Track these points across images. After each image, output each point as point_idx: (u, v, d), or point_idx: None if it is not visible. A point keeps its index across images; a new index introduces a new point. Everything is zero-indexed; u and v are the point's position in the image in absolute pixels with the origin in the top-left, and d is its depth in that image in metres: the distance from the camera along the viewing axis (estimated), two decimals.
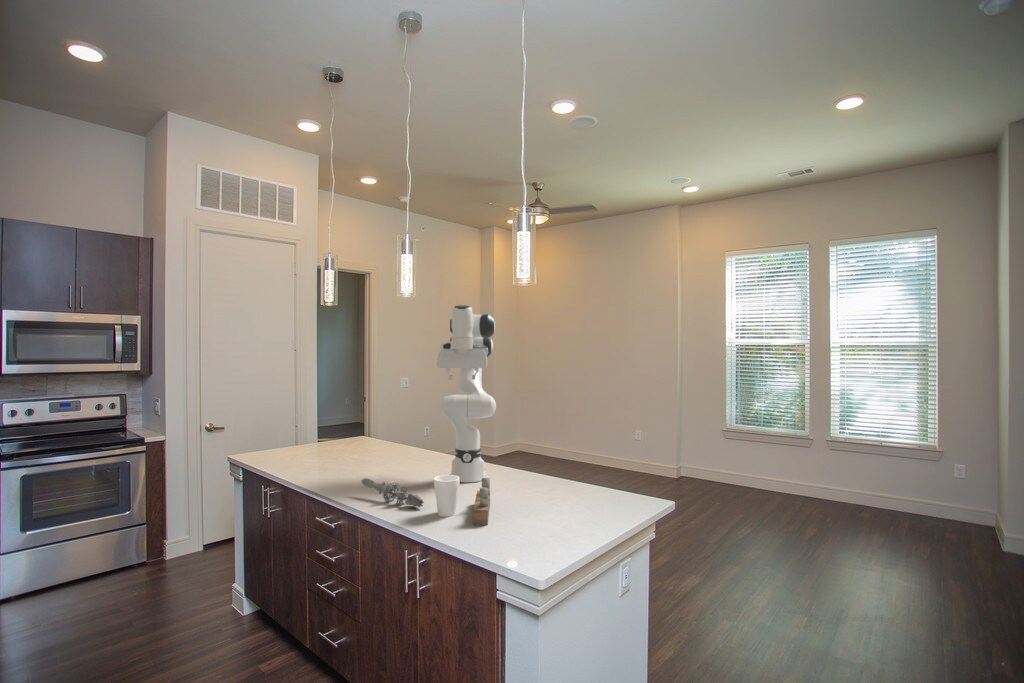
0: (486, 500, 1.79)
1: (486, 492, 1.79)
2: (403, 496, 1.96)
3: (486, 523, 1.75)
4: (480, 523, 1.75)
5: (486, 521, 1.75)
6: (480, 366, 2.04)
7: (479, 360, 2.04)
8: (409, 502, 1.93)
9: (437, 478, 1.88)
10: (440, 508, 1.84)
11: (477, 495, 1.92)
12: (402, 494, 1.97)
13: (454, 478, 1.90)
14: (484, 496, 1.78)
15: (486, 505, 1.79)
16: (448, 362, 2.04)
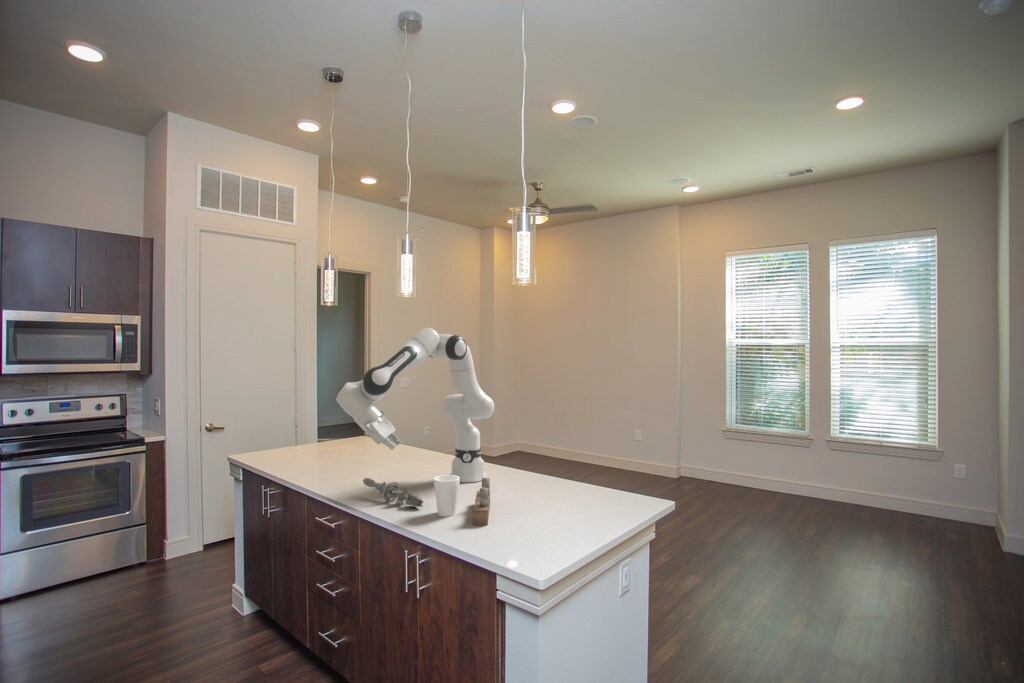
0: (486, 500, 1.79)
1: (486, 492, 1.79)
2: (403, 496, 1.96)
3: (486, 523, 1.75)
4: (480, 523, 1.75)
5: (486, 521, 1.75)
6: None
7: None
8: (409, 502, 1.93)
9: (437, 478, 1.88)
10: (440, 508, 1.84)
11: (477, 495, 1.92)
12: (402, 494, 1.97)
13: (454, 478, 1.90)
14: (484, 496, 1.78)
15: (486, 505, 1.79)
16: None
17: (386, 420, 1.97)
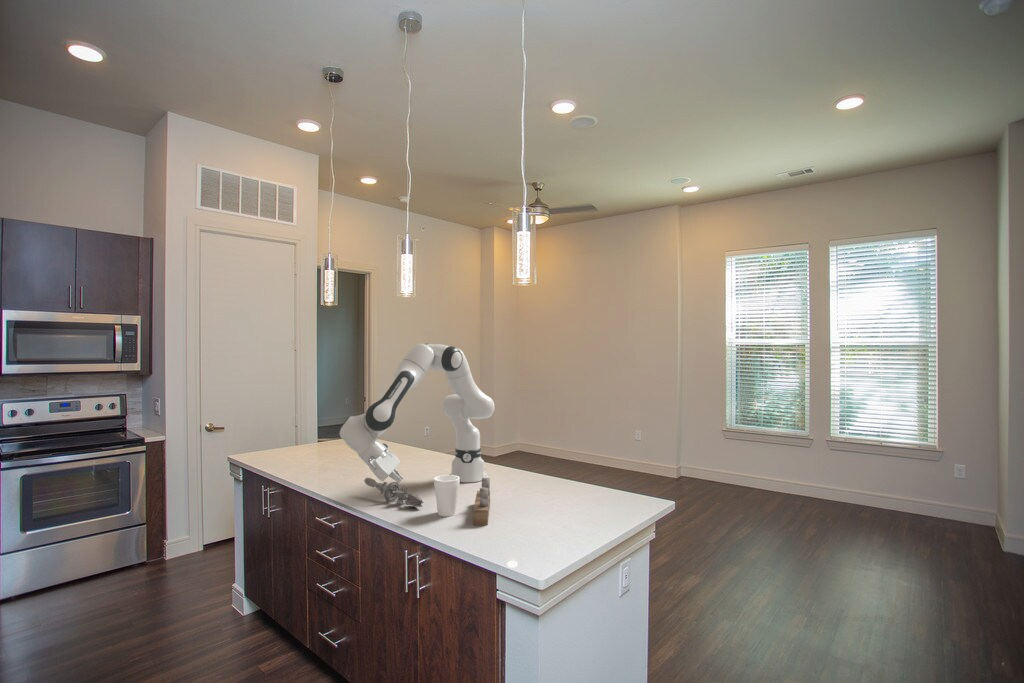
0: (486, 500, 1.79)
1: (486, 492, 1.79)
2: (403, 496, 1.96)
3: (486, 523, 1.75)
4: (480, 523, 1.75)
5: (486, 521, 1.75)
6: None
7: None
8: (409, 502, 1.93)
9: (437, 478, 1.88)
10: (440, 508, 1.84)
11: (477, 495, 1.92)
12: (402, 494, 1.97)
13: (454, 478, 1.90)
14: (484, 496, 1.78)
15: (486, 505, 1.79)
16: None
17: (390, 453, 1.94)
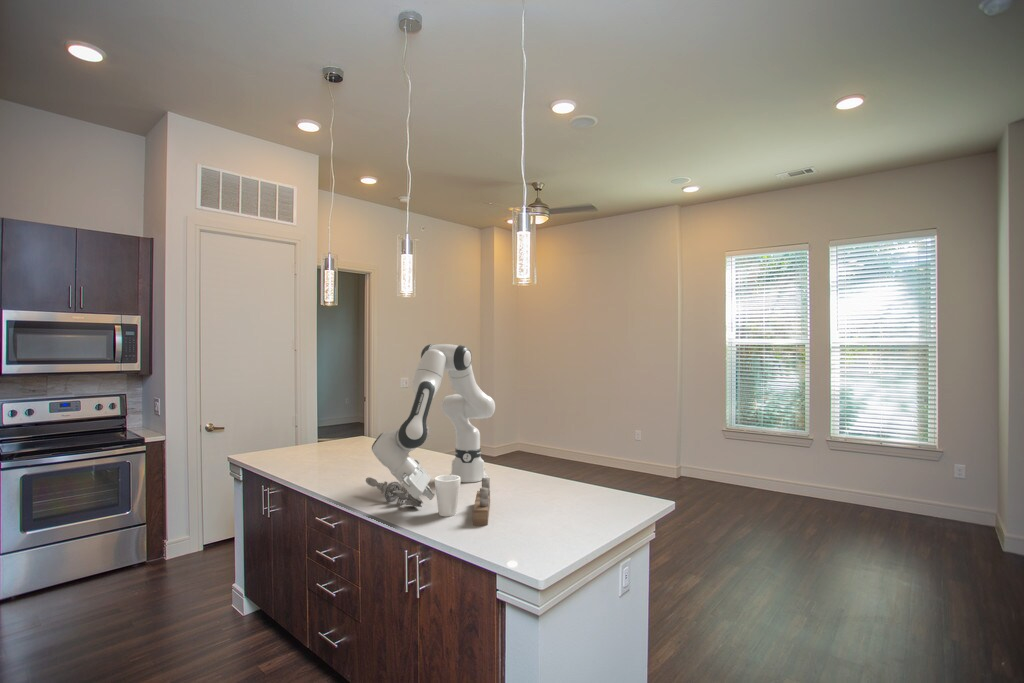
0: (486, 500, 1.79)
1: (486, 492, 1.79)
2: (403, 496, 1.96)
3: (486, 523, 1.75)
4: (480, 523, 1.75)
5: (486, 521, 1.75)
6: None
7: None
8: (408, 502, 1.93)
9: (438, 478, 1.88)
10: (441, 508, 1.84)
11: (477, 495, 1.92)
12: (402, 494, 1.97)
13: (455, 478, 1.90)
14: (484, 496, 1.78)
15: (486, 505, 1.79)
16: None
17: (421, 469, 1.94)
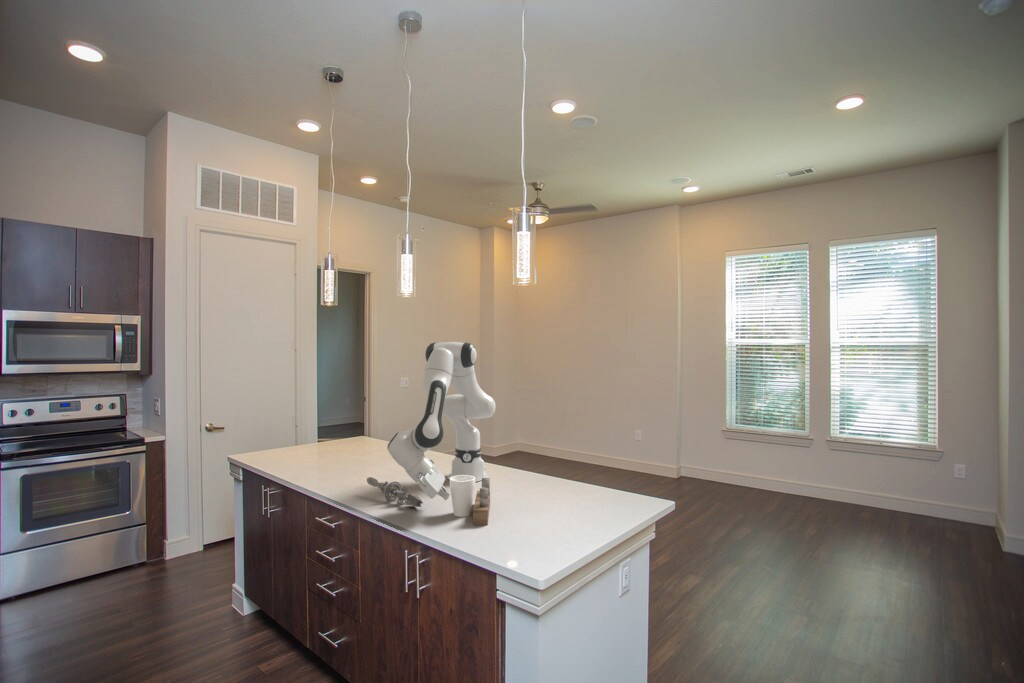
0: (486, 500, 1.79)
1: (486, 492, 1.79)
2: (403, 496, 1.96)
3: (486, 523, 1.75)
4: (480, 523, 1.75)
5: (486, 521, 1.75)
6: None
7: None
8: (408, 502, 1.93)
9: (453, 478, 1.88)
10: (456, 509, 1.83)
11: (477, 495, 1.92)
12: (402, 494, 1.97)
13: (470, 478, 1.89)
14: (484, 496, 1.78)
15: (486, 505, 1.79)
16: None
17: (436, 469, 1.94)
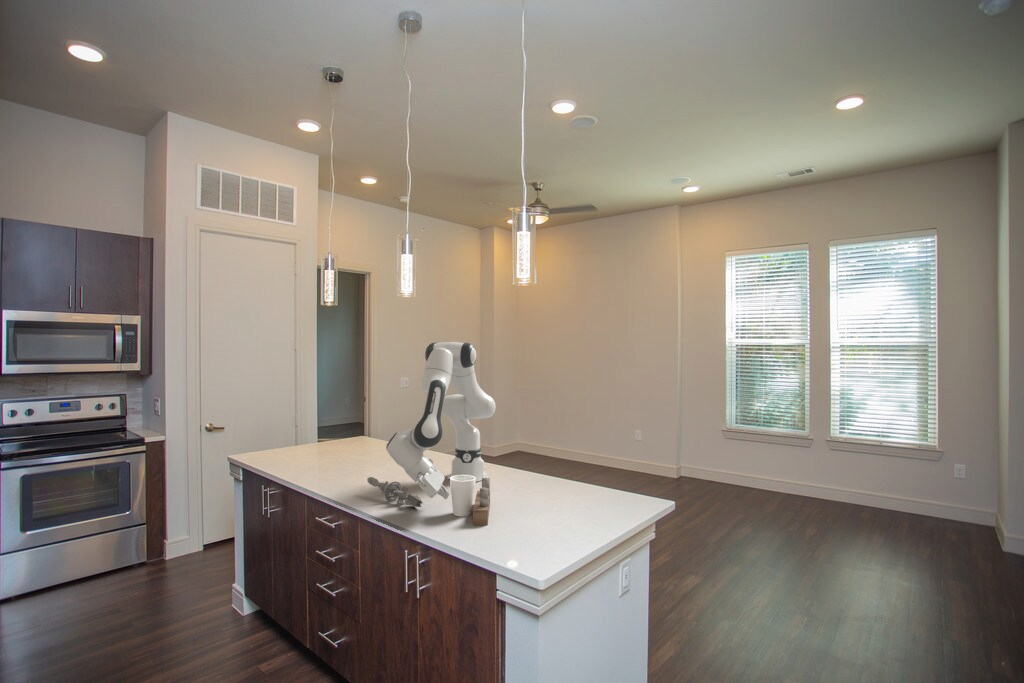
0: (486, 500, 1.79)
1: (486, 492, 1.79)
2: (403, 496, 1.96)
3: (486, 523, 1.75)
4: (480, 523, 1.75)
5: (486, 521, 1.75)
6: None
7: None
8: (408, 502, 1.93)
9: (453, 478, 1.88)
10: (456, 508, 1.83)
11: (477, 495, 1.92)
12: (402, 494, 1.97)
13: (470, 478, 1.89)
14: (484, 496, 1.78)
15: (486, 505, 1.79)
16: None
17: (435, 468, 1.94)
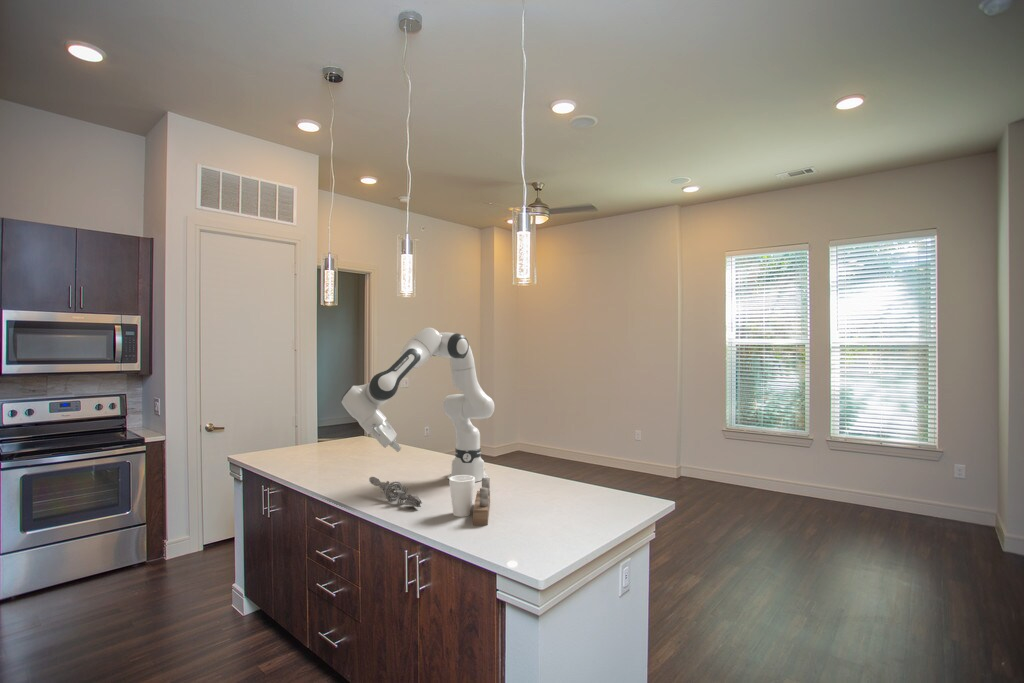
0: (486, 500, 1.79)
1: (486, 492, 1.79)
2: (403, 496, 1.96)
3: (486, 523, 1.75)
4: (480, 523, 1.75)
5: (486, 521, 1.75)
6: None
7: None
8: (408, 502, 1.93)
9: (452, 478, 1.88)
10: (455, 509, 1.83)
11: (477, 495, 1.92)
12: (403, 494, 1.97)
13: (469, 478, 1.89)
14: (484, 496, 1.78)
15: (486, 505, 1.79)
16: None
17: (388, 424, 2.00)
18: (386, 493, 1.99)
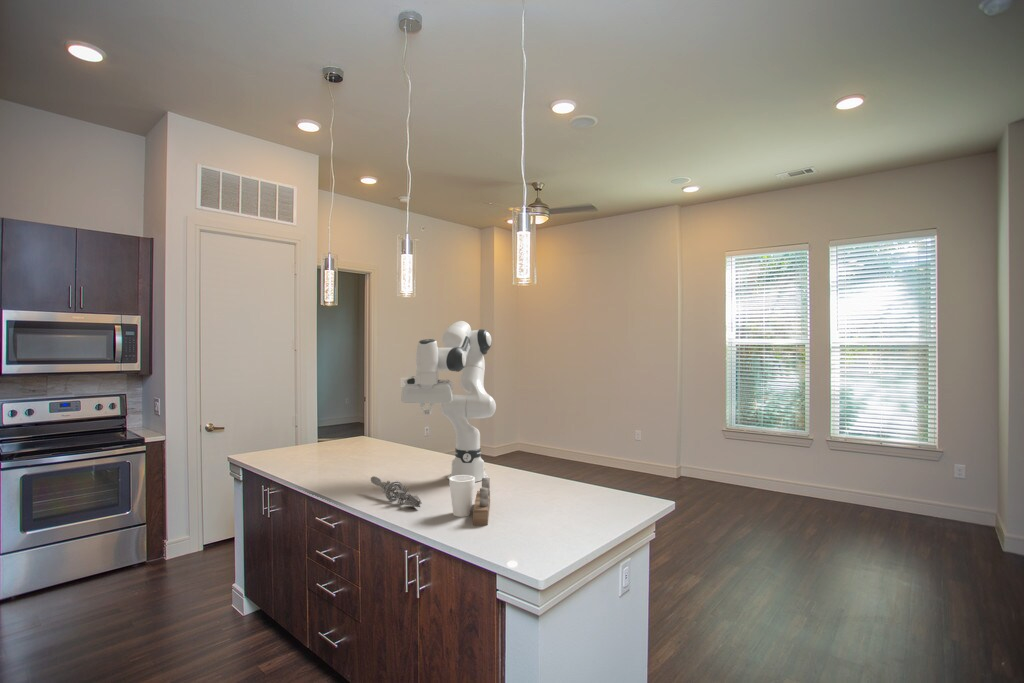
0: (486, 500, 1.79)
1: (486, 492, 1.79)
2: (403, 496, 1.96)
3: (486, 523, 1.75)
4: (480, 523, 1.75)
5: (486, 521, 1.75)
6: (445, 401, 2.02)
7: (444, 395, 2.02)
8: (408, 502, 1.93)
9: (452, 478, 1.88)
10: (455, 509, 1.83)
11: (477, 495, 1.92)
12: (403, 494, 1.97)
13: (469, 478, 1.89)
14: (484, 496, 1.78)
15: (486, 505, 1.79)
16: (413, 397, 2.02)
17: None
18: (386, 493, 1.99)
